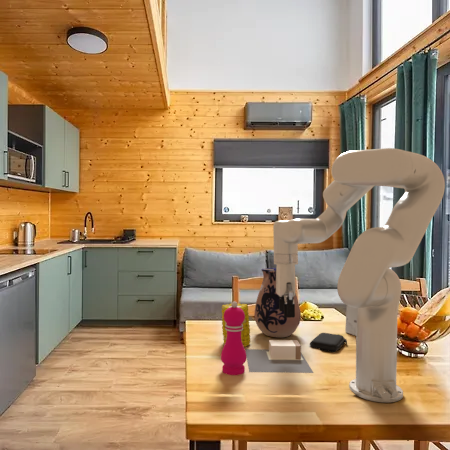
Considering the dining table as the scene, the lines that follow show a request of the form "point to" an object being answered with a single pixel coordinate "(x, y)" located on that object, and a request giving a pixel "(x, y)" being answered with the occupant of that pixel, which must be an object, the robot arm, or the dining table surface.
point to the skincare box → (351, 320)
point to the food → (246, 330)
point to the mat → (274, 363)
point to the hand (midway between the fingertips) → (286, 314)
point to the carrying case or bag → (328, 342)
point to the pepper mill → (233, 342)
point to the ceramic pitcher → (273, 309)
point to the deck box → (284, 349)
